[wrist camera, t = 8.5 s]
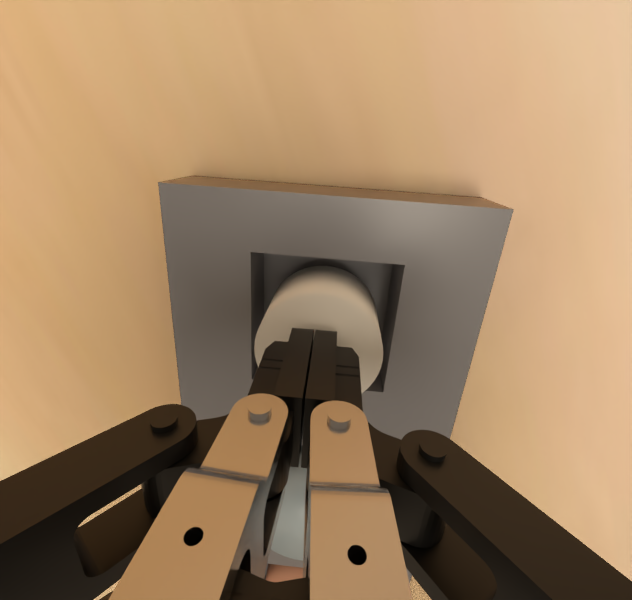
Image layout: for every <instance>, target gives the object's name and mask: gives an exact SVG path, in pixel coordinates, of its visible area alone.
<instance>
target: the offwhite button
mask: <svg viewBox="0 0 632 600" xmlns="http://www.w3.org/2000/svg"><path fill="white" fill-rule="evenodd" d="M292 328H302V329H314V337H315V330H326V331H337V346H339V347H350V348H353V350H354V351H355V352H356V354H357V355H358V356H359V364H360V378H361V392H362V393H363V392H364V391H365V390H366V389H368V388H369V387H370V386H371V384H372V383H373V382H374V381H375V379H376V377H377V375H378V374H379V371H380V369H381V365H382V361H383V344H382V339H381V333H380V328H379V323H378V317H377V312H376V307H375V303H374V300H373V297H372V295H371V293H370V291H369V290H368V288H367V287H366V286H365V284H364V283H363V282H362V281H361V280H360V279H358V278H357V277H356V276H354V275H353V274H351V273H349V272H347V271H345V270H343V269H340V268H336V267H331V266H312V267H308V268H305V269H302V270H299V271H297V272H295V273H294V274H292V275H291V276H289V277H288V278H287V279H286V280H285V281H284V282H282V284H281V285H280V286H279V288H278V289H277V291H276V293H275V295H274V297H273V299H272V301H271V303H270V305H269V307H268V309H267V311H266V314H265V316H264V318H263V320H262V322H261V324H260V326H259V328H258V331H257V334H256V338H255V345H254V351H255V358H256V362H257V365H258V368H259V364H260V361H261V360H262V356H263V354H264V351H265V348H267V347H268V346H269V345H270V344H272V343H273V342H274V341H283V342H288V340H289V337H290V333H291V330H292ZM313 343H314V338H313Z"/></svg>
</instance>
